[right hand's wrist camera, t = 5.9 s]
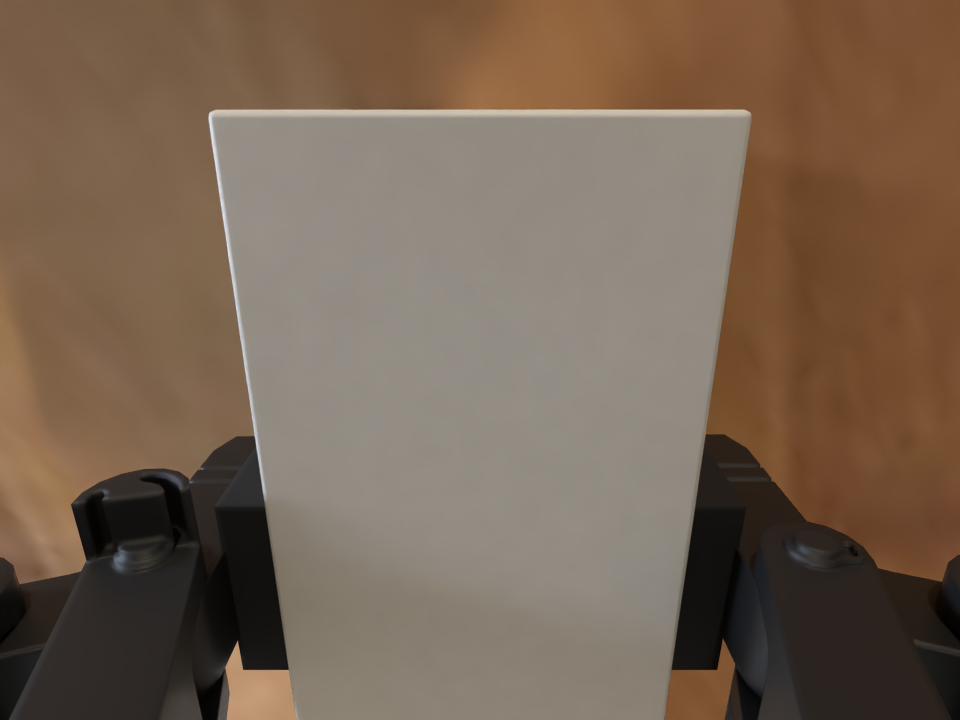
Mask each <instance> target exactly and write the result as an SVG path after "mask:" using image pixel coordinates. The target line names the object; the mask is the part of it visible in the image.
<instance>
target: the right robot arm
mask: <svg viewBox="0 0 960 720" xmlns="http://www.w3.org/2000/svg"><path fill="white" fill-rule="evenodd" d="M71 506H72V510H73V513H74V517H75V521H76V524H77V528H78V531H79V535H80V539H81V542H82V546H83V550H84V553H85V557H86V560H87V561H86V563H85V565H84V567H83V569H82V571H81V572H77V573H73V574H69V575H64V576H59V577H55V578H50V579H45V580H40V581H35V582H30V583H25V584H20V585H19V582H18V579H17V576H16V573H15V570H14V567H13V565H12V564H11V563H9V562H8V561H7V560H5V559H4V558H0V720H226V718H227V710H228V702H229V686H228V679H227V674H226V669H225V666H226V664H227V662H228V660H229V658H230V656H231V654H232V651H233V649H234V647H235V645H236V643H237V641H238V643H239V649H240V654H241V660H242V665H243V670H289V667H288V660H287V653H286V646H285V639H284V633H283V626H282V619H281V612H280V605H279V598H278V591H277V585H276V578H275V571H274V564H273V557H272V550H271V543H270V537H269V530H268V523H267V516H266V509H265V502H264V495H263V489H262V482H261V475H260V468H259V461H258V454H257V447H256V441H255V437H235V438H233V439H232V440H230V441H229V442H227V443H225V444H224V445H222V446H220V447H219V448H217V449H216V450H214V451H213V452H212V454H211V455H210V456H209V457H208V458H207V460H206V461H205V462H204V463H203V465H202V466H201V470H198V471H197V472H196V473H195V474H194V476H193V477H192V478H191V479H190V483H189V479H188V478H187V477H186V476H184V475H183V474H182V473H180V472H178V471H173V470H168V469H143V470H138V471H133V472H128V473H124V474H120V475H117V476H115V477H112V478H109V479H107V480H104V481H101V482H99V483H98V484H96V485H94V486H93V487H91V488H89V489H88V490H86V491H84V492H82V493H81V495H80V496H79V497H78V498H77V499H76V500H75V501H74V502H73V503H72V504H71ZM723 639H724V641H725V643H726V645H727V647H728V649H729V652H730V654H731V656H732V658H733V660H734V662H735V669H734V674H733V679H732V685H731V690H730V695H729V700H728V705H727V710H726V716H725V720H960V555H958V556H956V557H955V558H954V559H952V560H951V561H950V562H948V565H947V568H946V571H945V575H944V578H943V581H942V582H940V581H935V580H930V579H925V578H920V577H915V576H910V575H905V574H900V573H895V572H890V571H886V570H883V569H879V568H877V566H876V564H875V562H874V560H873V559H872V557H871V556H870V555H869V554H868V552H867V551H866V550H865V549H864V547H863V546H861V545H860V544H858V543H857V542H856V541H854V540H853V539H851V538H850V537H848V536H847V535H845V534H843V533H840V532H838V531H836V530H834V529H831V528H829V527H827V526H823V525H819V524H815V523H811V522H807V521H806V520H805V519H804V517H803V516H802V515H801V514H800V513H799V511H798V510H797V509H796V508H795V506H794V505H793V504H792V503H791V502H790V500H789V499H788V498H787V497H786V495H785V494H784V493H783V492H782V491H781V489H780V488H779V487H778V486H777V485H776V483H775V482H772V481H771V477H770V476H769V475H768V474H767V472H766V471H765V470H764V469H763V468H760V464H759V463H758V461H757V460H756V459H755V458H754V456H753V455H752V454H751V453H750V452H749V450H748V449H747V448H745V447H744V446H742V445H740V444H739V443H737V442H736V441H734V440H732V439H731V438H729V437H727V436H726V435H705V442H704V449H703V456H702V463H701V470H700V476H699V483H698V490H697V497H696V504H695V511H694V518H693V525H692V531H691V538H690V545H689V552H688V559H687V566H686V573H685V579H684V586H683V593H682V600H681V607H680V614H679V621H678V628H677V634H676V641H675V648H674V655H673V662H672V669H671V670H717V668H718V662H719V656H720V651H721V645H722V640H723Z"/></svg>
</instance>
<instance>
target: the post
mask: <svg viewBox="0 0 960 720" xmlns="http://www.w3.org/2000/svg"><path fill="white" fill-rule="evenodd" d="M751 119H752V118H751V113H750V112H748V111H746V110H214V111H212V112H210V113H209V125H210V132H211V139H212V146H213V152H214V159H215V166H216V173H217V180H218V187H219V194H220V200H221V207H222V214H223V221H224V228H225V235H226V242H227V248H228V255H229V262H230V269H231V276H232V283H233V290H234V296H235V303H236V310H237V317H238V324H239V331H240V338H241V344H242V351H243V358H244V365H245V372H246V379H247V386H248V392H249V399H250V406H251V413H252V420H253V427H254V434H255V441H256V447H257V454H258V461H259V468H260V475H261V482H262V489H263V495H264V502H265V509H266V516H267V523H268V530H269V537H270V543H271V550H272V557H273V564H274V571H275V578H276V585H277V591H278V598H279V605H280V612H281V619H282V626H283V633H284V639H285V646H286V653H287V660H288V667H289V674H290V681H291V687H292V694H293V701H294V708H295V715H296V720H664V717H665V710H666V703H667V696H668V689H669V682H670V676H671V669H672V662H673V655H674V648H675V641H676V634H677V628H678V621H679V614H680V607H681V600H682V593H683V586H684V579H685V573H686V566H687V559H688V552H689V545H690V538H691V531H692V525H693V518H694V511H695V504H696V497H697V490H698V483H699V476H700V470H701V463H702V456H703V449H704V442H705V435H706V428H707V422H708V415H709V408H710V401H711V394H712V387H713V380H714V373H715V367H716V360H717V353H718V346H719V339H720V332H721V325H722V318H723V312H724V305H725V298H726V291H727V284H728V277H729V270H730V264H731V257H732V250H733V243H734V236H735V229H736V222H737V215H738V209H739V202H740V195H741V188H742V181H743V174H744V167H745V161H746V154H747V147H748V140H749V133H750V126H751Z"/></svg>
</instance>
